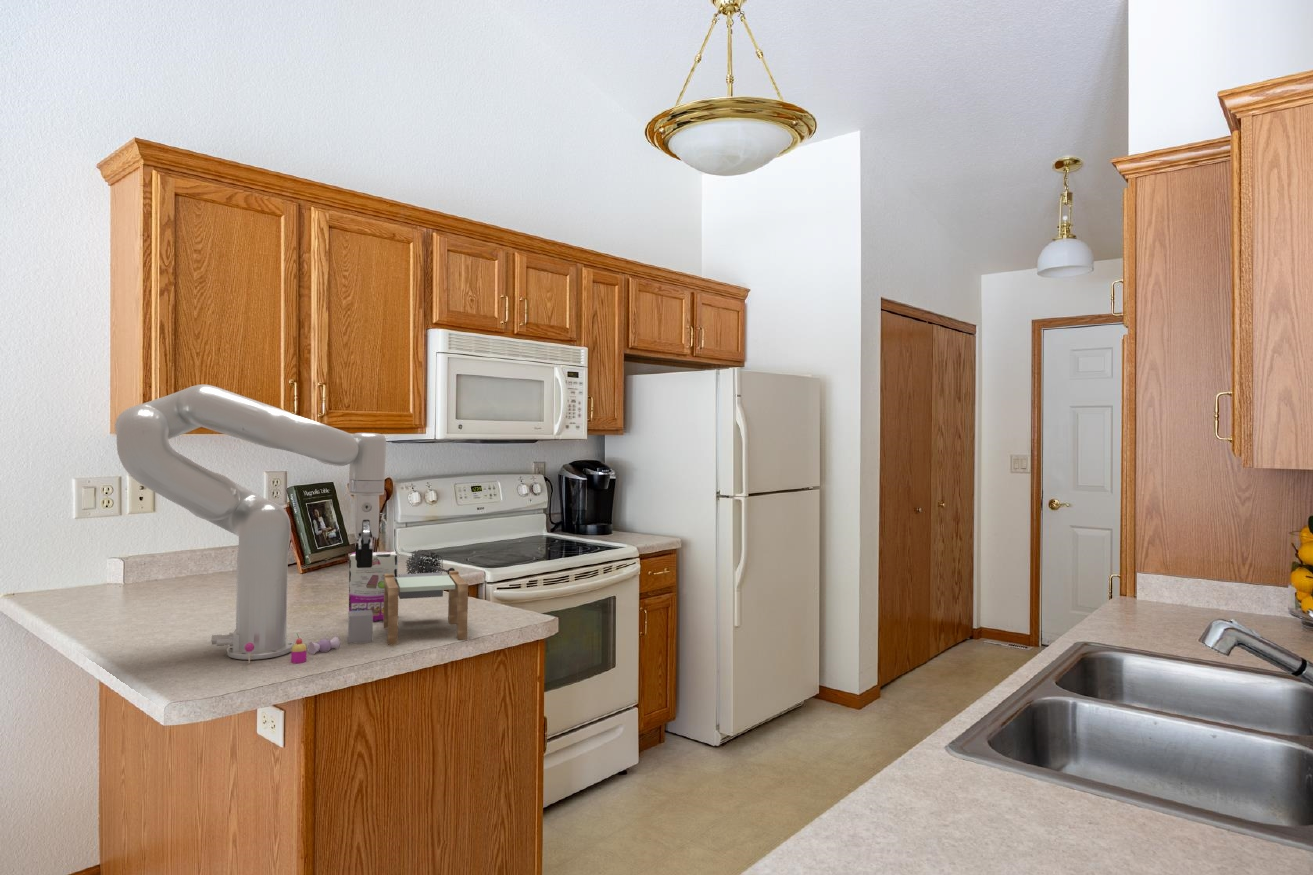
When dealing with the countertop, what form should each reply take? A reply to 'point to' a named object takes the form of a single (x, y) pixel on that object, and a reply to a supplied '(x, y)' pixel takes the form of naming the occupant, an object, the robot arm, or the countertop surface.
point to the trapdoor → (423, 585)
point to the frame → (455, 606)
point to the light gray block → (360, 626)
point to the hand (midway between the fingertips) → (363, 563)
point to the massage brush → (428, 566)
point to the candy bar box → (371, 583)
